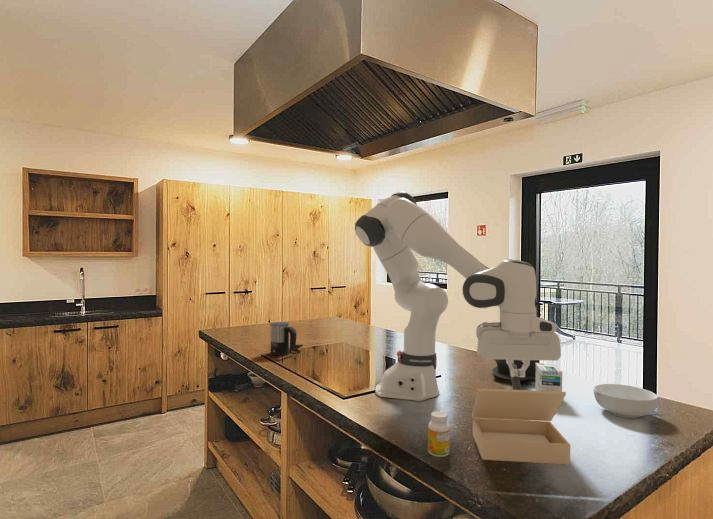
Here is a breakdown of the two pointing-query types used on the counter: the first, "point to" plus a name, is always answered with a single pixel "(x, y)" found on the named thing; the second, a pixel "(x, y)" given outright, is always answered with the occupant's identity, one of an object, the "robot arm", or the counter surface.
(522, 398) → the mailer lid
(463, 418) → the counter surface
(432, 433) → the supplement bottle
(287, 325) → the milk frother
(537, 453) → the tray
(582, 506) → the counter surface
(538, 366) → the light bulb box
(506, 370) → the casserole
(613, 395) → the cereal bowl
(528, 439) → the tissue paper
